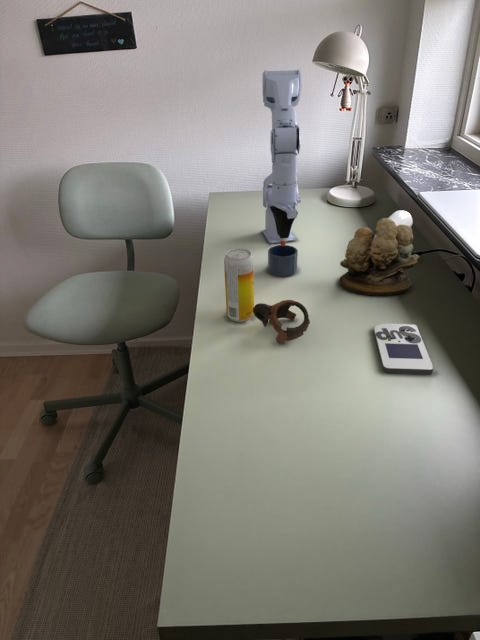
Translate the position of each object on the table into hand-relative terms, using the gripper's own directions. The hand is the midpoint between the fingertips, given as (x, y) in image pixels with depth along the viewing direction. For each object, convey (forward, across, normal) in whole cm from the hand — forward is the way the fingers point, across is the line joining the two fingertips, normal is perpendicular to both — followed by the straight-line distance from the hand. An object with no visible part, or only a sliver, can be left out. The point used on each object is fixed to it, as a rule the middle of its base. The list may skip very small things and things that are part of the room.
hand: (283, 236), depth 120 cm
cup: (+9, 0, 0) cm, 9 cm away
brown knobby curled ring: (+10, -27, +8) cm, 30 cm away
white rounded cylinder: (+7, +5, -29) cm, 31 cm away
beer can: (+10, -19, +15) cm, 26 cm away
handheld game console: (+10, -39, -13) cm, 42 cm away
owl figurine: (+10, -13, -20) cm, 26 cm away
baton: (+2, 0, 0) cm, 2 cm away
